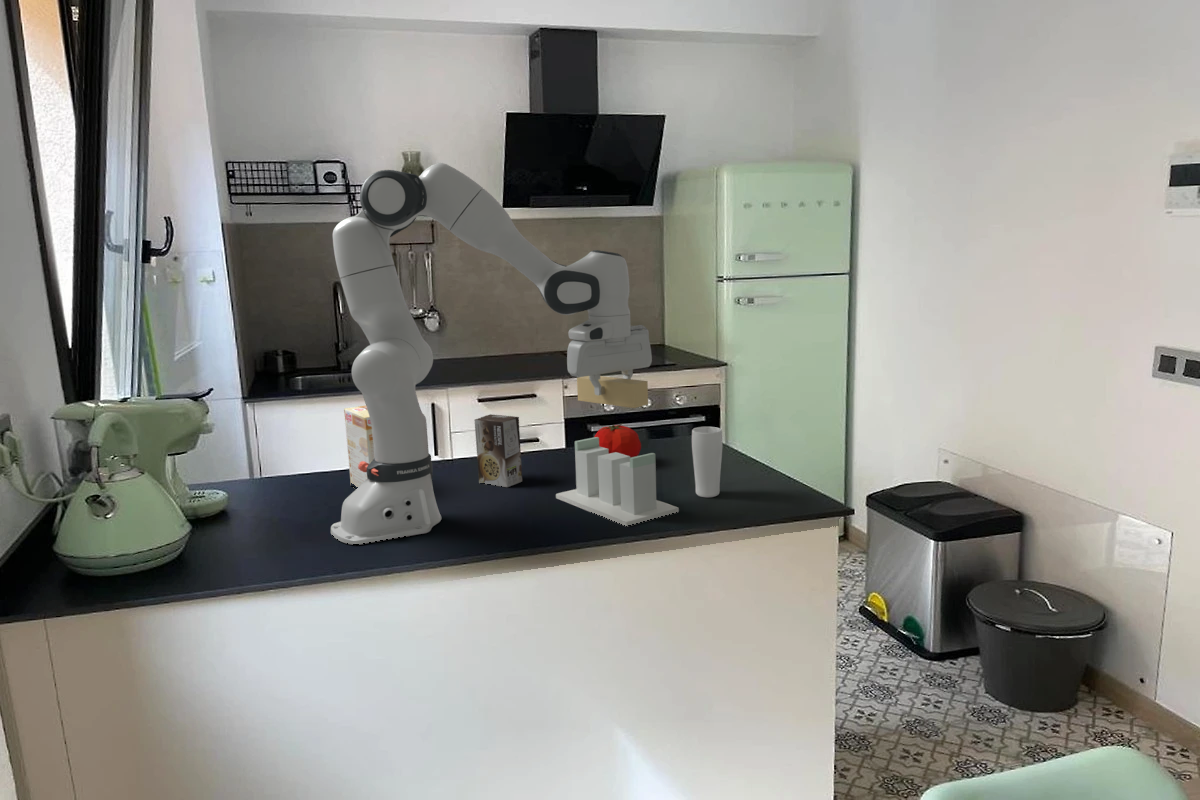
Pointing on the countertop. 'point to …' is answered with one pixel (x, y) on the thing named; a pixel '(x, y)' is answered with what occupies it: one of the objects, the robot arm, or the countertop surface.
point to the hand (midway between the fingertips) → (611, 392)
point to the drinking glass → (707, 460)
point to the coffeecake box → (358, 441)
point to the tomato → (619, 440)
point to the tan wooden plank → (614, 391)
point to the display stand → (615, 485)
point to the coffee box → (498, 450)
